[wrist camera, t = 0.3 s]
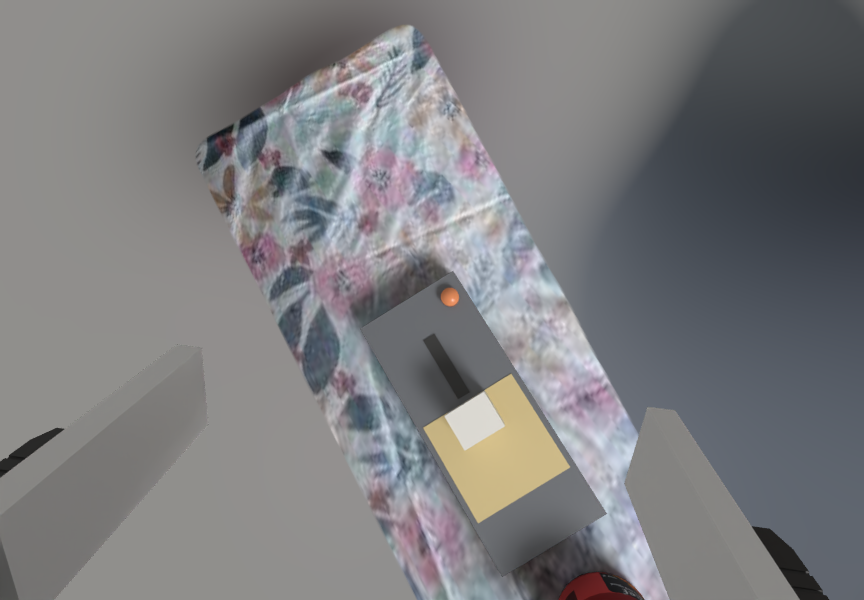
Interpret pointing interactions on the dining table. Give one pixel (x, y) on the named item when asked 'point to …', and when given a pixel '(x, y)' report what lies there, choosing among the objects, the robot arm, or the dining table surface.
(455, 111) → the dining table surface
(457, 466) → the breaker housing
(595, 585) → the canned food
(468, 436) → the knob
